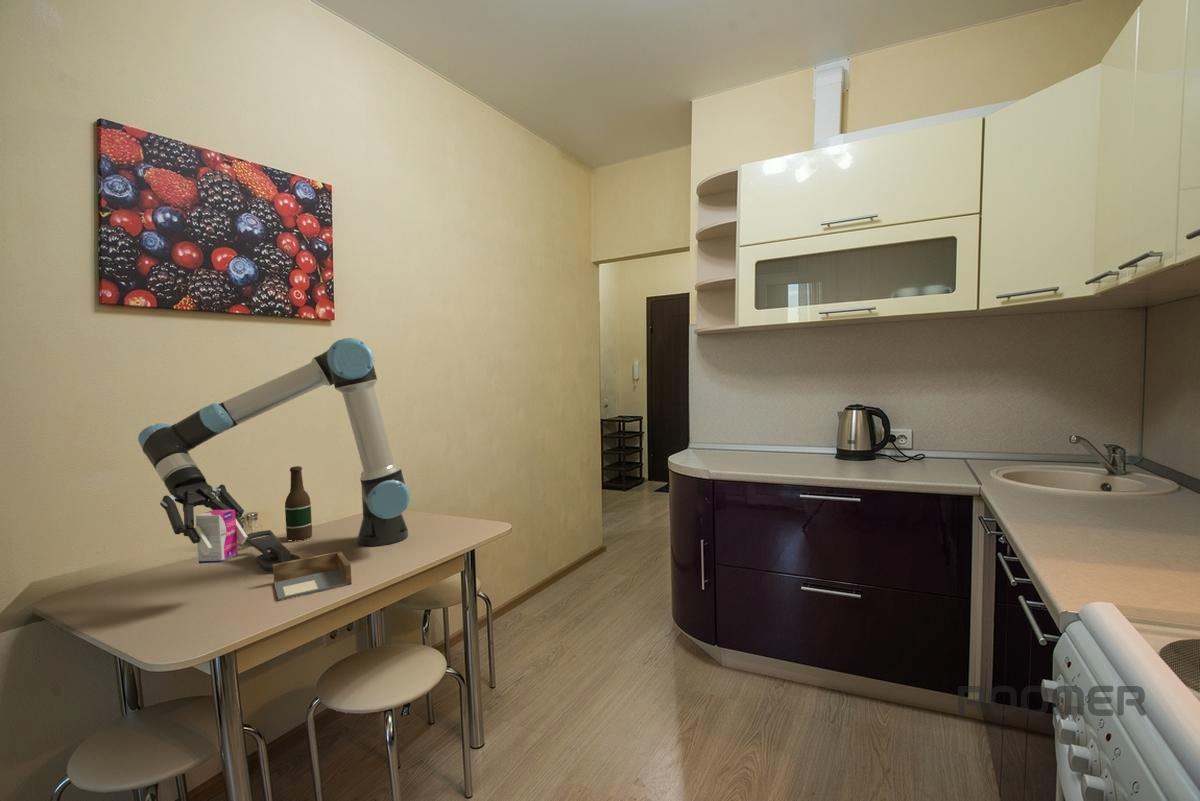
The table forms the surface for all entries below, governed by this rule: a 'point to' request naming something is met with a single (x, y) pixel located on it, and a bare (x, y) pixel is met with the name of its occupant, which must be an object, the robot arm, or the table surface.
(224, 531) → the supplement box
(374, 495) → the robot arm
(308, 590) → the grey mat
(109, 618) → the table surface
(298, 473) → the beer bottle
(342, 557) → the walnut corner walls
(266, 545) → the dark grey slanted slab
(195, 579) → the table surface
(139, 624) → the table surface
